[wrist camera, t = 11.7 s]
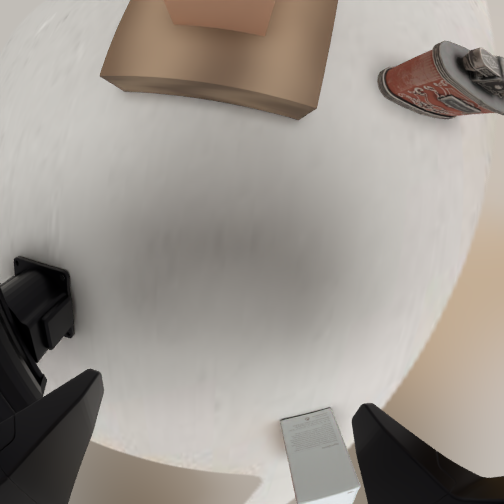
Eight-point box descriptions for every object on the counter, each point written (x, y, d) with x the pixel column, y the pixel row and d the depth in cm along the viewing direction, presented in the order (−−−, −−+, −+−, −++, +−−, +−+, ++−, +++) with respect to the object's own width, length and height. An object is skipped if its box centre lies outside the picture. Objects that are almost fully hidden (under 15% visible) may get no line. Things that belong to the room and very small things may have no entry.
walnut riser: (124, 91, 15) (99, 75, 11) (175, -31, 11) (167, -59, 7) (298, 119, 16) (316, 108, 12) (326, -7, 13) (343, -33, 9)
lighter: (378, 101, 16) (477, 72, 6) (376, 62, 15) (463, 16, 5) (452, 126, 17) (543, 126, 7) (450, 91, 16) (536, 78, 6)
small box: (279, 418, 25) (296, 504, 15) (331, 405, 25) (362, 486, 15) (287, 451, 27) (301, 520, 17) (331, 440, 27) (353, 507, 17)
